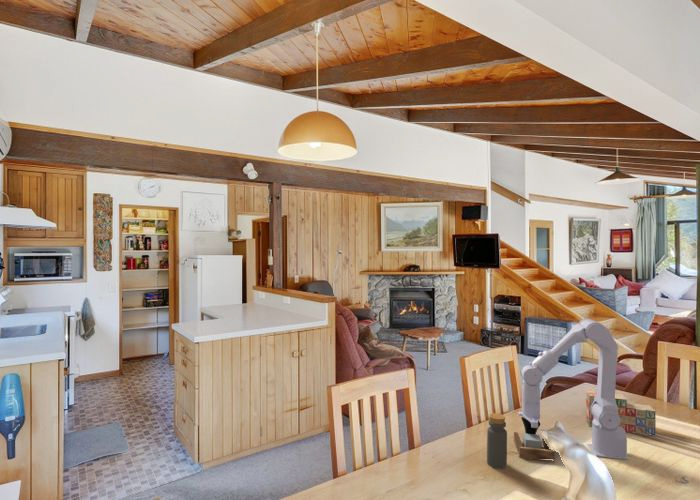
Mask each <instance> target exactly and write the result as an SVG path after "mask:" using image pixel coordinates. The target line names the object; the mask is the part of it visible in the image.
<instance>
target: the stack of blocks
mask: <svg viewBox="0 0 700 500" xmlns="http://www.w3.org/2000/svg"><path fill="white" fill-rule="evenodd" d="M596 394H597V391H594V390H586V399H585V400H586V401H585V402H586V422H587V425H588V427H591V428H592V421H593V419H594V416H593V415H592V414H591V411H590V408H591V405H592V404H593V402H594V397H595V396H596ZM615 401H616V404H617V407H618V415H619V417H620V425H619V426H618V427H622V428H624V430H625V432H626V433H630V432H635V433H634V434H637V433H641V434H640V435H644V434H651V435H655V436H656V410H655V409H654V408H653V407H652V406H651V405H648V404H640V403H634V402H633V403H631V402H628V400H627V398H626V397H625V396H624V394H621V393H615Z"/></svg>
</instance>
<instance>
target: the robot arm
mask: <svg viewBox="0 0 700 500" xmlns="http://www.w3.org/2000/svg"><path fill="white" fill-rule="evenodd" d="M610 331H611V330H610V329H609V328H608V327H606V326H605V325H603V323H601V322H598V321H595V320H594V319H592V318H588V317H587V318H583V319H580V321H579V322H578V323H576V324H575V325H574V326H572V328H571V329H570V330H569V331H568V332H567V333H566V334H565V335H564V336H563V337H562V338H561V339H560V340H559V341H558V342H557V343H556V344H555V345H554V346H553V347H552V348H551V349H548V350H546V349H545V350H543V351H539V352H538V353H537V354H538V356H537V357H535V358H534V359H533V360H532V361H529V362H528V364H526V365H525V366H523V368H522V369H521V371H520V376H521V377H522V387H521V411H518V412H517V414H518V416H520V417H521V418H520V419H521V421H522V423H523V426H524V427H523V428H524V431H525V433H527V434H536V435H537V432H538V429H539V428H540V426H541V422H540V420H541V413H540V412H541V407H540V406H541V388H540V387H541V386H540V385H541V383H542V381H543V377H544V376H546V375H547V374H548V373H549V372H550V371H551V370H552V369H554V368H555V366H557V365H558V364H559V358H560V357H561V356H562V355H564V354H565V353H566V352H567V351H569V350H570V349H572V347H574V346H575V345H576V344H579V343H589V341H588V340H590V341H591V342H592V343H594V344H595V345H596V346H597V347H598V349H599V350H598V363H597V364H598V366H597V367H598V369H597V380H596V381H597V382H596V383H597V385H596V392H597V394H596V396H595V397H594V402H593V404H592V405H591V408H590V411H591V414H592V415H593V416H594V419H593V421H592V427H591V429H592V430H591V431H592V433H591V435H592V436H591V438H592V439H591V443H588V444H587V447H589V449H590V451H591V452H592V453H593V455H594V454H595V455H596V456H595V455H594V456H595V457H600V458H609V459H618V460H627V461H628V458H629V457H627V455H628V454H627V453H628V439H627V432H625V430H624V428H622V427H618V426H619V425H620V417H619V415H618V407H617V404H616V401H615V394H616V383H617V365H618V343H617V342H616V340H615V338H614V337H613V335H612V333H611V332H610Z"/></svg>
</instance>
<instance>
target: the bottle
mask: <svg viewBox="0 0 700 500" xmlns="http://www.w3.org/2000/svg"><path fill="white" fill-rule="evenodd" d="M506 423H507V422H506V416H505V415H503V414H501V413H494V412H493V413H489V420H488V425H489V427H488V428H487V430H486V431H487V432H486V464H487V465H488V466H490V467H491V468H495V469H499V470H500V469H504V468H506V467H507V464H508V461H507V459H508V458H507V457H508V431H507V430H506V429H505V428H506V426H507V424H506Z"/></svg>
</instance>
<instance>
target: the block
mask: <svg viewBox="0 0 700 500" xmlns="http://www.w3.org/2000/svg"><path fill="white" fill-rule="evenodd" d="M522 445H523V447H530V448H538V449H543V445H542V437H541V436H540V434H537V433H536V434H527V433H524V432H523V433H522Z"/></svg>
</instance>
